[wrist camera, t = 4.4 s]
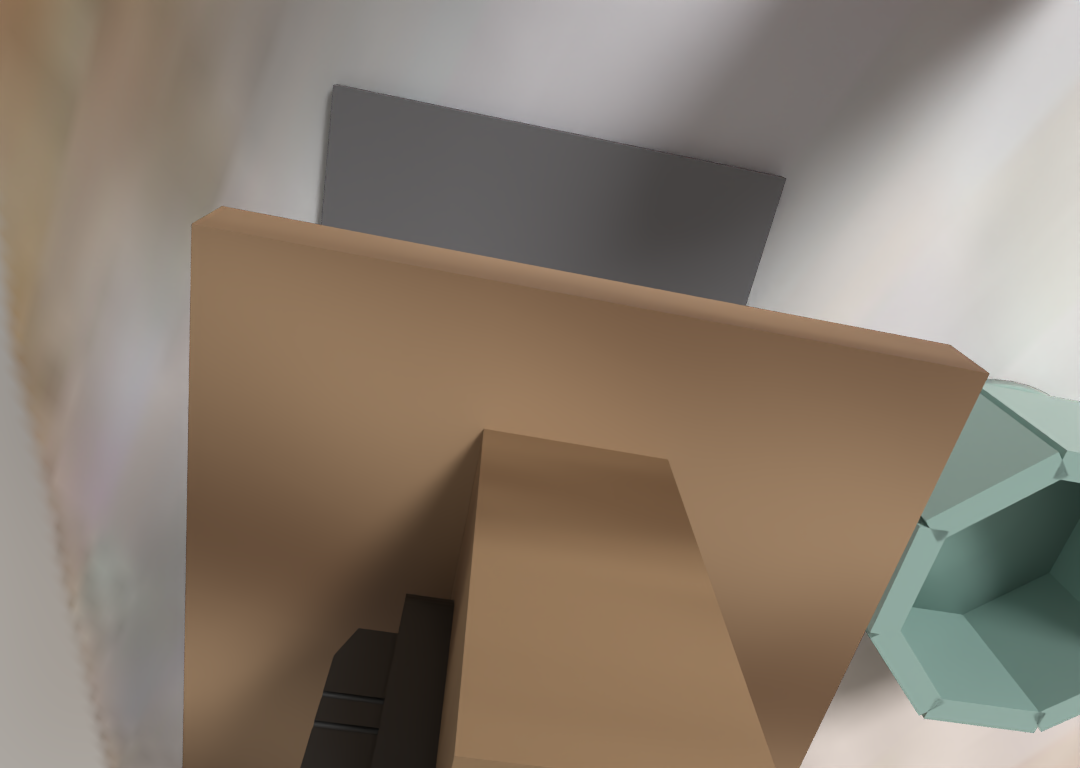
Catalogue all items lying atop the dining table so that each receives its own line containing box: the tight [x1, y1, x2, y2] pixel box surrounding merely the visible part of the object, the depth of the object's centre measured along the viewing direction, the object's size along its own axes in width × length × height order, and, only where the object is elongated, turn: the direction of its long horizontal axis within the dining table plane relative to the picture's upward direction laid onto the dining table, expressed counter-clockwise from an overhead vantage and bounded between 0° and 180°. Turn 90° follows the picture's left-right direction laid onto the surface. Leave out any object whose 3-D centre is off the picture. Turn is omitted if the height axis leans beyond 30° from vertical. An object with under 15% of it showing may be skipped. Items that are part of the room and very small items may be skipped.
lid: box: [183, 206, 990, 768], centre depth 10 cm, size 10×10×6 cm
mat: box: [321, 84, 786, 306], centre depth 22 cm, size 12×12×1 cm
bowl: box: [866, 379, 1080, 733], centre depth 23 cm, size 9×9×5 cm
